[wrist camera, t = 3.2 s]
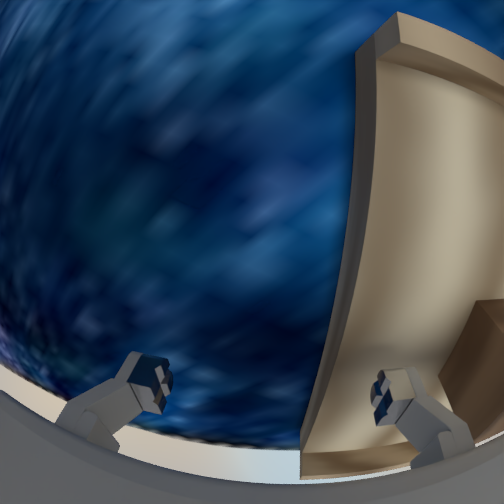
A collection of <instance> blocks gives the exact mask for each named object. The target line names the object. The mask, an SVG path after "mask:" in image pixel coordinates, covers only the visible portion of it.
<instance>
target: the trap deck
mask: <svg viewBox="0 0 504 504" xmlns="http://www.w3.org/2000/svg"><path fill="white" fill-rule="evenodd" d="M355 67H356V115H355V141H354V157H353V171H352V183H351V193H350V203H349V211H348V220H347V227H346V235H345V242H344V249H343V255H342V261H341V268H340V273H339V279H338V285H337V290H336V295H335V300H334V305H333V310H332V315H331V320H330V324H329V329H328V333H327V338H326V342H325V346H324V350H323V354H322V358H321V362H320V366H319V370H318V374H317V377H316V381H315V384H314V388H313V391H312V395H311V398H310V402H309V405H308V408H307V412H306V415H305V418H304V421H303V424H302V427H301V430H300V480H308V479H328V478H339V477H349V476H357V475H365V474H371V473H376V472H382V471H388V470H392V469H397V468H401V467H406V466H410V462H411V460H412V459H413V458H414V457H415V456H417V455H418V454H419V452H418V451H417V450H416V449H415V447H414V446H413V445H412V444H411V443H410V442H409V441H408V440H407V439H406V437H405V436H404V435H403V434H402V433H401V432H400V431H399V430H398V429H397V427H396V426H395V424H394V425H386V426H377V427H376V423H375V419H374V414H373V413H374V411H375V409H376V408H375V407H373V406H372V405H371V400H370V392H371V387H372V385H373V383H374V382H376V381H377V380H378V378H377V375H378V373H379V371H380V370H383V369H394V368H405V367H415V368H416V369H417V371H418V373H419V376H420V378H421V381H422V383H423V385H424V388H425V390H426V393H427V395H428V396H432V397H433V398H434V399H436V400H437V401H438V402H440V403H441V404H442V405H443V406H445V407H446V408H447V409H449V410H450V411H451V412H453V411H452V408H451V406H450V403H449V401H448V398H447V396H446V394H445V391H444V389H443V387H442V385H441V382H440V380H439V378H438V374H439V373H440V371H441V369H442V368H443V366H444V364H445V363H446V361H447V359H448V357H449V356H450V354H451V352H452V350H453V348H454V346H455V344H456V343H457V341H458V339H459V337H460V335H461V333H462V331H463V329H464V327H465V324H466V322H467V320H468V318H469V316H470V313H471V311H472V309H473V307H474V304H475V302H476V300H490V299H504V60H502V59H500V58H499V57H497V56H496V55H494V54H492V53H491V52H489V51H487V50H486V49H484V48H482V47H480V46H478V45H477V44H475V43H473V42H471V41H469V40H467V39H465V38H463V37H461V36H459V35H457V34H455V33H453V32H450V31H448V30H446V29H444V28H441V27H439V26H437V25H434V24H432V23H429V22H426V21H424V20H421V19H418V18H415V17H413V16H410V15H407V14H403V13H400V12H396V13H395V14H394V15H393V16H391V17H390V18H389V19H388V20H387V21H386V22H385V23H384V24H383V25H382V26H381V27H380V28H379V29H378V30H377V31H376V32H375V33H374V34H373V35H372V36H371V37H370V38H369V39H368V40H367V41H366V42H365V43H364V44H363V45H362V46H361V47H360V48H359V49H358V50H357V51H356V52H355Z"/></svg>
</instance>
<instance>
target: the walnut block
mask: <svg viewBox="0 0 504 504" xmlns="http://www.w3.org/2000/svg"><path fill="white" fill-rule="evenodd" d="M438 378H439V380H440V382H441V385H442V387H443V389H444V391H445V394H446V396H447V398H448V401H449V403H450V406H451V408H452V411H453V413H454V414H455V415H456V416H458V417H459V418H460V419H462V420H463V421H464V422H466V423H467V425H468V427H469V430H470V433H471V436H472V438H473V441H474V444H476V443H479V442H481V441H483V440H485V439H487V438H490V437H492V436H493V435H495V434H498V433H500V432H502V431H504V299H490V300H476V302H475V304H474V307H473V309H472V311H471V313H470V316H469V318H468V320H467V322H466V324H465V327H464V329H463V331H462V333H461V335H460V337H459V339H458V341H457V343H456V344H455V346H454V348H453V350H452V352H451V354H450V356H449V357H448V359H447V361H446V363H445V364H444V366H443V368H442V369H441V371H440V373H439V374H438Z"/></svg>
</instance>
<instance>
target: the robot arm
mask: <svg viewBox="0 0 504 504" xmlns="http://www.w3.org/2000/svg"><path fill="white" fill-rule="evenodd" d="M169 365H170V364H169V361H168V359H166V358H162V357H157V356H152V355H148V354H144V353H139V352H134V351H132V352H131V353H129V355H128V357H127V358H126V360H125V362H124V363H123V365H122V367H121V368H120V370H119V372H118V373H117V375H116V377H115V379H112V378H111V379H109V380H107V381H105V382H103V383H102V384H100V385H98V386H96V387H94V388H92V389H90V390H89V391H87V392H85V393H83V394H81V395H79V396H77V397H75V398H73V399H72V400H70V401H68V402H67V404H66V406H65V407H64V409H63V410H62V412H61V414H60V415H59V417H58V419H57V420H56V422H55V424H54V423H52V422H51V421H49V420H47V419H45V418H43V417H42V416H40V415H39V414H37V413H35V412H34V411H32V410H30V409H29V408H27V407H26V406H24V405H23V404H21V403H20V402H18V401H17V400H15V399H14V398H13V397H11V396H10V395H8V394H7V393H5V392H4V391H2V390H0V504H504V434H503V435H501V436H499V437H497V438H495V439H493V440H491V441H489V442H487V443H484V444H482V445H480V446H478V447H475V444H474V441H473V438H472V436H471V433H470V430H469V427H468V425H467V423H466V422H464V421H463V420H462V419H460V418H459V417H458V416H456V415H455V414H454V413H453V412H451V411H450V410H449V409H447V408H446V407H445V406H443V405H442V404H441V403H440V402H438V401H437V400H436V399H434V398H433V397H432V396H428V395H427V393H426V390H425V388H424V385H423V383H422V381H421V378H420V376H419V373H418V371H417V369H416V368H415V367H405V368H394V369H383V370H380V371H379V373H378V375H377V378H378V380H377V381H376V382H374V383H373V385H372V387H371V392H370V400H371V405H372V406H373V407H375V408H376V409H375V411H374V413H373V414H374V419H375V423H376V427H377V426H386V425H394V424H395V426H396V427H397V429H398V430H399V431H400V432H401V433H402V434H403V435H404V436H405V437H406V439H407V440H408V441H409V442H410V443H411V444H412V445H413V446H414V447H415V449H416V450H417V451H418V452H419V454H418V455H417V456H415V457H414V458H413V459H412V460H411V462H410V466H411V470H407V471H403V472H399V473H395V474H390V475H385V476H379V477H374V478H367V479H361V480H354V481H345V482H335V483H321V484H265V483H251V482H240V481H231V480H224V479H217V478H211V477H204V476H199V475H194V474H189V473H185V472H180V471H176V470H172V469H168V468H164V467H160V466H157V465H153V464H150V463H146V462H143V461H140V460H137V459H134V458H131V457H128V456H125V455H122V454H120V453H117V452H118V450H119V447H120V445H119V443H118V442H117V441H116V440H115V438H114V437H113V436H112V435H113V434H114V433H115V432H117V431H118V430H119V429H121V428H122V427H123V426H125V425H126V424H127V423H128V422H130V421H131V420H132V419H134V418H135V417H136V416H137V415H139V414H140V413H141V412H142V410H144V411H148V412H152V413H157V414H161V415H162V413H163V410H164V408H165V405H166V403H167V401H166V398H165V397H166V396H167V395H169V394H170V392H171V390H172V386H173V375H172V372H171V371H170V370H169V369H168V368H169Z"/></svg>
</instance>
